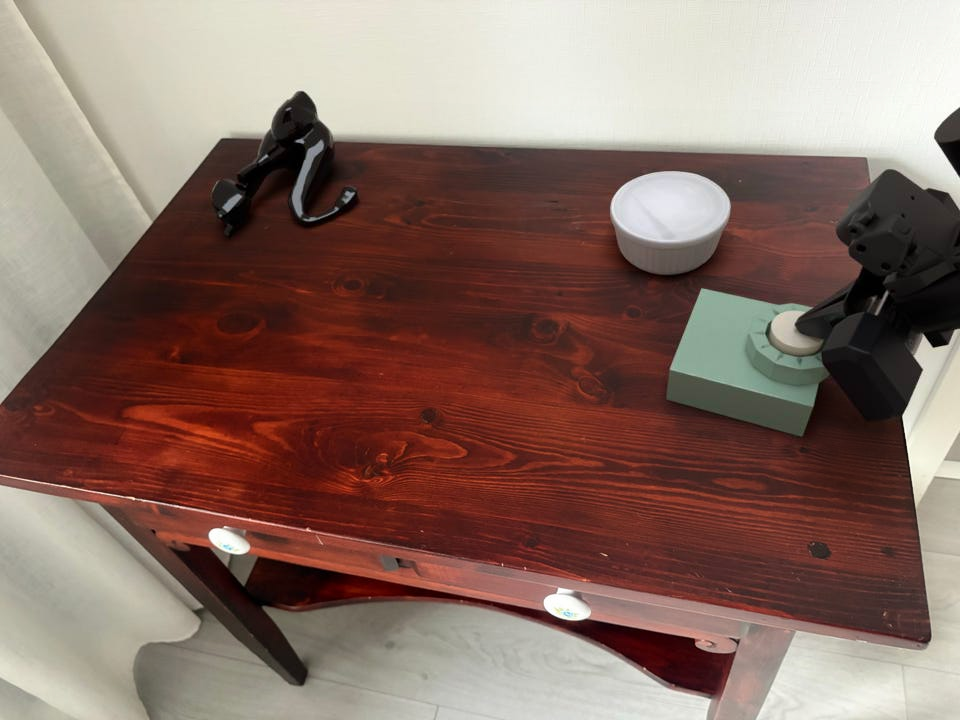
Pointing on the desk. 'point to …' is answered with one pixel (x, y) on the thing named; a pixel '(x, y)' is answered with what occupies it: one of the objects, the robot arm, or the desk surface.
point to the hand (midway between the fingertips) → (798, 326)
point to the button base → (743, 365)
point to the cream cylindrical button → (792, 336)
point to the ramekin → (669, 221)
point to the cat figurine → (285, 166)
